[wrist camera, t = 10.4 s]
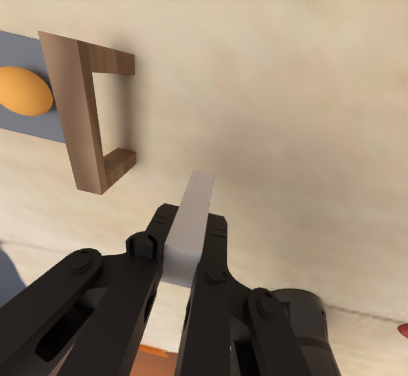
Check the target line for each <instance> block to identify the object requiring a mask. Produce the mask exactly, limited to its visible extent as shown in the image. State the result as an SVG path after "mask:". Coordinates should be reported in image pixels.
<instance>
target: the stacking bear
mask: <svg viewBox="0 0 408 376" xmlns="http://www.w3.org/2000/svg"><path fill="white" fill-rule="evenodd" d="M398 330H399V332H400V333H401V334H402V335H403V336H405V337H406V338H408V324H404V325H400V326H399V327H398Z"/></svg>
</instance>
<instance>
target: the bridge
mask: <svg viewBox="0 0 408 376" xmlns="http://www.w3.org/2000/svg"><path fill="white" fill-rule="evenodd" d="M38 34H39V38H40V42H41V46H42V50H43V54H44V58H45V62H46V66H47V70H48V74H49V78H50V82H51V86H52V90H53V94H54V98H55V102H56V106H57V110H58V114H59V118H60V122H61V126H62V130H63V134H64V138H65V142H66V146H67V150H68V154H69V158H70V162H71V166H72V170H73V174H74V178H75V182H76V186H77V189H78V190H82V191H87V192H91V193H95V194H99V195H102V194H103V193H104V192H105V191H107V190H108V189H109V188H110V187H111V186H112V185H113V184H114V183H115V182H117V181H118V180H119V179H120V178H121V177H122V176H123V175H124V174H125V173H127V172H128V171H129V170H130V169H131V168H132V167H133V166H134V165H135V164H136V152H132V151H128V150H124V149H120V148H117V149H115V150H114V151H112V152H110V153H109V154H107V155H105V156H104V157H103V152H102V145H101V137H100V130H99V122H98V115H97V107H96V100H95V92H94V85H93V77H92V72H96V73H114V74H132V75H135V73H134V55H132V54H128V53H125V52H121V51H117V50H113V49H109V48H106V47H102V46H98V45H94V44H90V43H87V42H83V41H79V40H75V39H71V38H67V37H62V36H58V35H54V34H50V33H46V32H41V31H38Z"/></svg>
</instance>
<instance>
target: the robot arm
mask: <svg viewBox="0 0 408 376" xmlns="http://www.w3.org/2000/svg"><path fill="white" fill-rule="evenodd" d="M213 180H214V175H212V174H208V173H204V172H200V171H195V170H194V171H193V173H192V176H191V178H190V181H189V183H188V186H187V188H186V191H185V194H184V196H183V199H182V201H181V204H180V206H174V205H170V204H166V203H164V204H163V205H161V206H160V207H159V208H158V209H157V211H156V213H155V214H154V216H153V218H152V220H151V222H150V223H149V225H148V227H147V229H146V231H143V232H138V233H135V234H133V235H131V236H130V237H129V238H128V239H127V240H126V253H123V254H118V255H105V256H101V253H100V252H99V251H98V250H96V249H92V248H84V249H80V250H77V251H74V252H73V253H71V254H69V255H68V256H66V257H65V258H64V259H62V260H61V261H60V262H59V263H57V264H56V265H55V266H53V267H52V268H51V269H50V270H48V271H47V272H46V273H45V274H43V275H42V276H41V277H39V278H38V279H37V280H36V281H34V282H33V283H32V284H30V285H29V286H28V287H27V288H25V289H24V290H23V291H22V292H20V293H19V294H18V295H16V296H15V297H14V298H13V299H11V300H10V301H9V302H7V303H6V304H5V305H4V306H2V307H1V308H0V376H48V375H49V374H50V373H51V371H52V370H53V369H54V368H55V367H56V365H57V364H58V363H59V362H60V360H61V359H62V358H63V357H64V355H65V354H66V353H67V352H68V350H69V349H70V348H71V347H72V345H73V344H74V343H75V342H76V343H75V344H74V346H73V348H72V350H71V351H70V353H69V355H68V356H67V358H66V360H65V361H64V363H63V365H62V367H61V368H60V370H59V372H58V374H57V375H56V376H129V375H130V372H131V369H132V366H133V363H134V360H135V357H136V354H137V351H138V348H139V345H140V342H141V339H142V336H143V333H144V330H145V327H146V324H147V321H148V318H149V315H150V312H151V310H152V307H153V304H154V301H155V298H156V294H157V288H158V285H159V282H160V279H161V281H162V282H166V283H170V284H175V285H179V286H183V287H187V288H191V292H190V297H189V300H188V303H187V307H186V315H185V320H184V325H183V331H182V336H181V341H180V347H179V352H178V357H177V363H176V368H175V373H174V376H341V373H340V371H339V368H338V365H337V363H336V360H335V358H334V355H333V352H332V350H331V347H330V344H329V341H328V331H327V321H326V312H325V309H324V307H323V304H322V302H321V300H320V299H319V298H318V297H317V296H316V295H314V294H312V293H309V292H306V291H302V290H294V289H286V290H278V291H274V292H271V291H269V290H267V289H265V288H260V287H259V288H255V289H253V290H251V289H249V288H248V287H246V286H244V285H242V284H241V283H239V282H238V281H237V280H235V279H234V278H233V276H232V275H231V274H230V272H229V270H228V267H227V222H226V220H225V218H224V217H223V216H219V215H215V214H211V213H208V212H209V205H210V199H211V193H212V186H213ZM230 345H231V350H230Z"/></svg>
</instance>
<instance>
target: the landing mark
mask: <svg viewBox="0 0 408 376" xmlns="http://www.w3.org/2000/svg"><path fill="white" fill-rule="evenodd" d="M4 66H16V67H20V68H24V69H26V70H29V71H31V72H33V73H34V74H36V75H37V76H39V77H40V78H41V79H42V80H43V81H44V82H45V83H46V84H47V85H48V87H49V89H50V90H51V93H52V96H53V103H52V106H51V108H50V109H49V110H48V111H47V112H46V113H44V114H42V115H39V116H25V115H21V114H18V113H15V112H13V111H11V110H9V109H7V108H6V107H5V106H3V105H2V104H1V103H0V128H2V129H6V130H11V131H15V132H19V133H23V134H28V135H32V136H36V137H40V138H45V139H49V140H53V141H57V142H61V143H66V142H65V138H64V134H63V130H62V126H61V122H60V118H59V114H58V110H57V106H56V102H55V98H54V94H53V90H52V86H51V82H50V78H49V74H48V70H47V66H46V62H45V58H44V54H43V50H42V46H41V42H40V40H37V39H33V38H28V37H24V36H20V35H16V34H12V33H7V32H3V31H0V68H1V67H4Z"/></svg>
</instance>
